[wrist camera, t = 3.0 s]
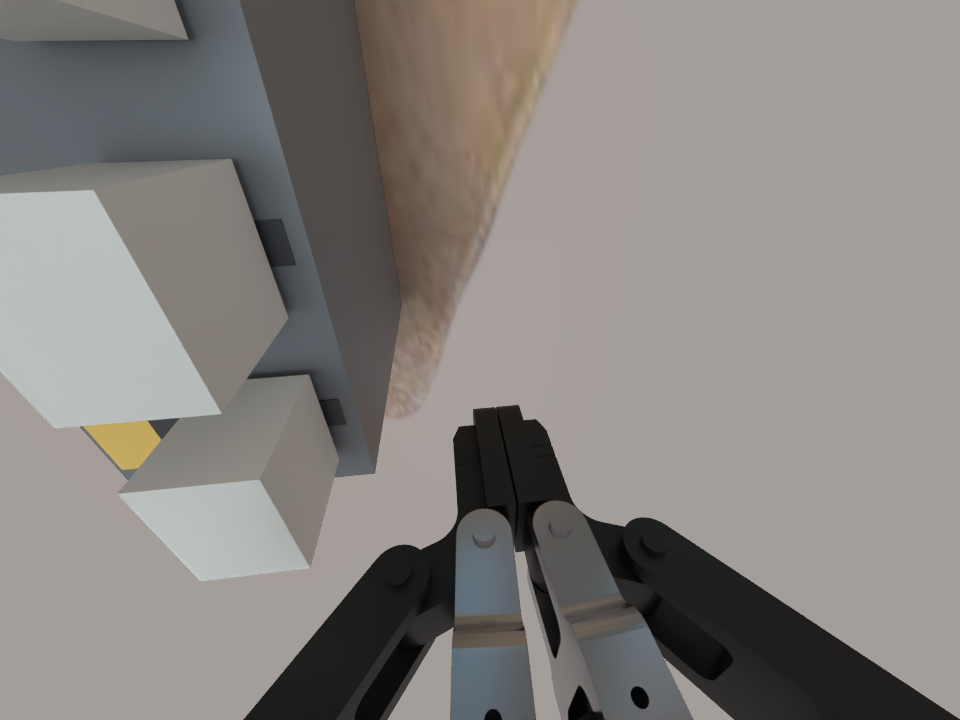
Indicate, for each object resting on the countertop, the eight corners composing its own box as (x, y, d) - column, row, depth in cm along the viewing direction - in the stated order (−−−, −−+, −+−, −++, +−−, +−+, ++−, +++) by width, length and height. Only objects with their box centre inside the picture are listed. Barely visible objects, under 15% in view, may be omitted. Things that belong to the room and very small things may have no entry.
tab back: (256, 467, 13) (200, 581, 10) (209, 382, 11) (117, 494, 8) (339, 458, 14) (310, 567, 10) (309, 374, 11) (259, 479, 8)
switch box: (281, 312, 27) (141, 498, 14) (144, -58, 17) (-951, -708, 3) (401, 304, 28) (374, 474, 15) (344, -56, 17) (67, -591, 4)
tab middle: (177, 325, 10) (54, 428, 7) (85, 163, 8) (-165, 200, 5) (288, 318, 10) (221, 414, 7) (231, 158, 8) (93, 189, 5)
